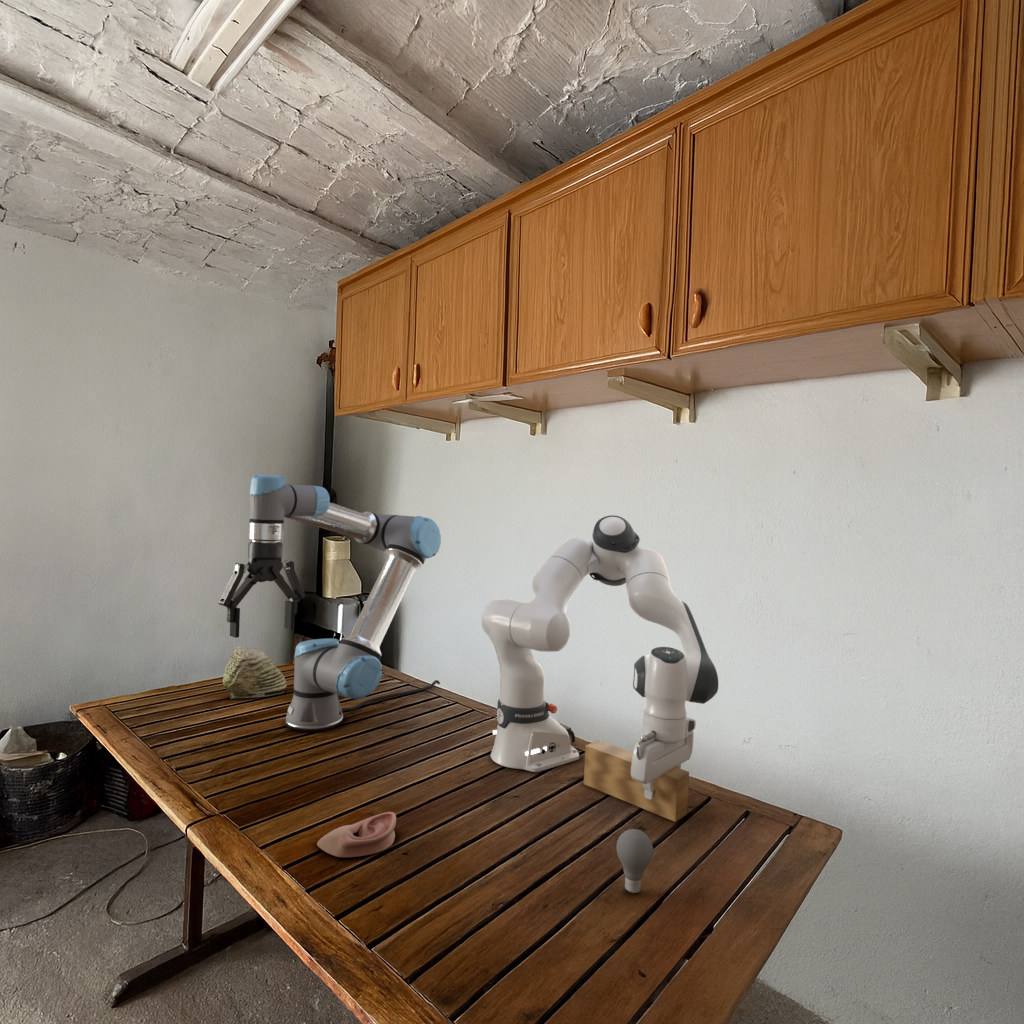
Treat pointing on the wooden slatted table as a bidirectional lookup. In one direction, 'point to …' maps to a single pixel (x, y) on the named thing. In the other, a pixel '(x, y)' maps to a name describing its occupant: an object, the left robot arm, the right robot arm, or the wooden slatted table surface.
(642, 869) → the light bulb
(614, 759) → the bar
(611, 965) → the wooden slatted table surface
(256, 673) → the fossil
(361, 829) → the anatomical model
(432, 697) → the wooden slatted table surface
